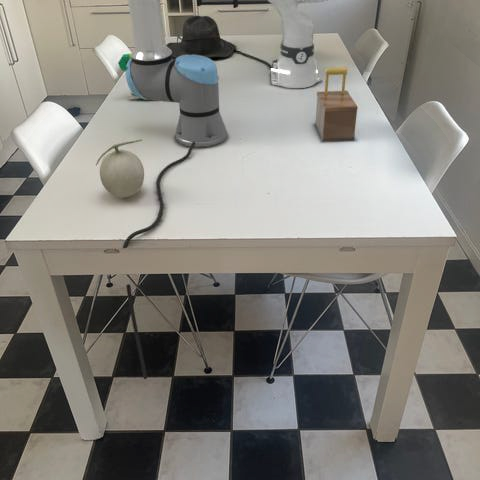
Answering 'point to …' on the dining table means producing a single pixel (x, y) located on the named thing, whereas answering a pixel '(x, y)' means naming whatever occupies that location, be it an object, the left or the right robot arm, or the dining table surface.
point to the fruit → (121, 171)
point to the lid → (336, 94)
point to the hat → (201, 39)
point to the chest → (335, 124)
